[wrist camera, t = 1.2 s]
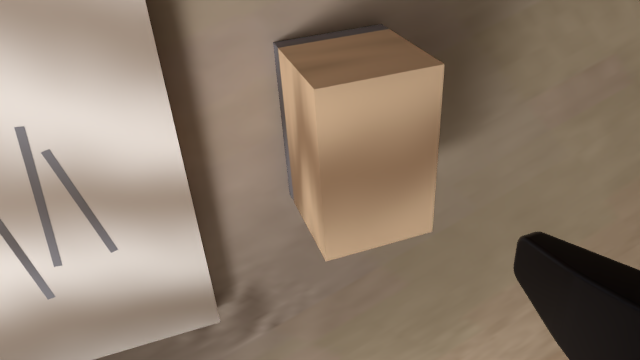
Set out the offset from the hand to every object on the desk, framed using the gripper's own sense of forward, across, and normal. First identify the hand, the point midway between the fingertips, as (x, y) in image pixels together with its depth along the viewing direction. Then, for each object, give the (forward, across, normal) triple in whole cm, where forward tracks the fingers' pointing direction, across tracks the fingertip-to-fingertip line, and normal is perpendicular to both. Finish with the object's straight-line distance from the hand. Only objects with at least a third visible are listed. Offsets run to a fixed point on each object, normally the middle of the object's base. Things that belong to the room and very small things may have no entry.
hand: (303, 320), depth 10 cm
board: (+13, +7, +4) cm, 15 cm away
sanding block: (+13, -5, +3) cm, 14 cm away
